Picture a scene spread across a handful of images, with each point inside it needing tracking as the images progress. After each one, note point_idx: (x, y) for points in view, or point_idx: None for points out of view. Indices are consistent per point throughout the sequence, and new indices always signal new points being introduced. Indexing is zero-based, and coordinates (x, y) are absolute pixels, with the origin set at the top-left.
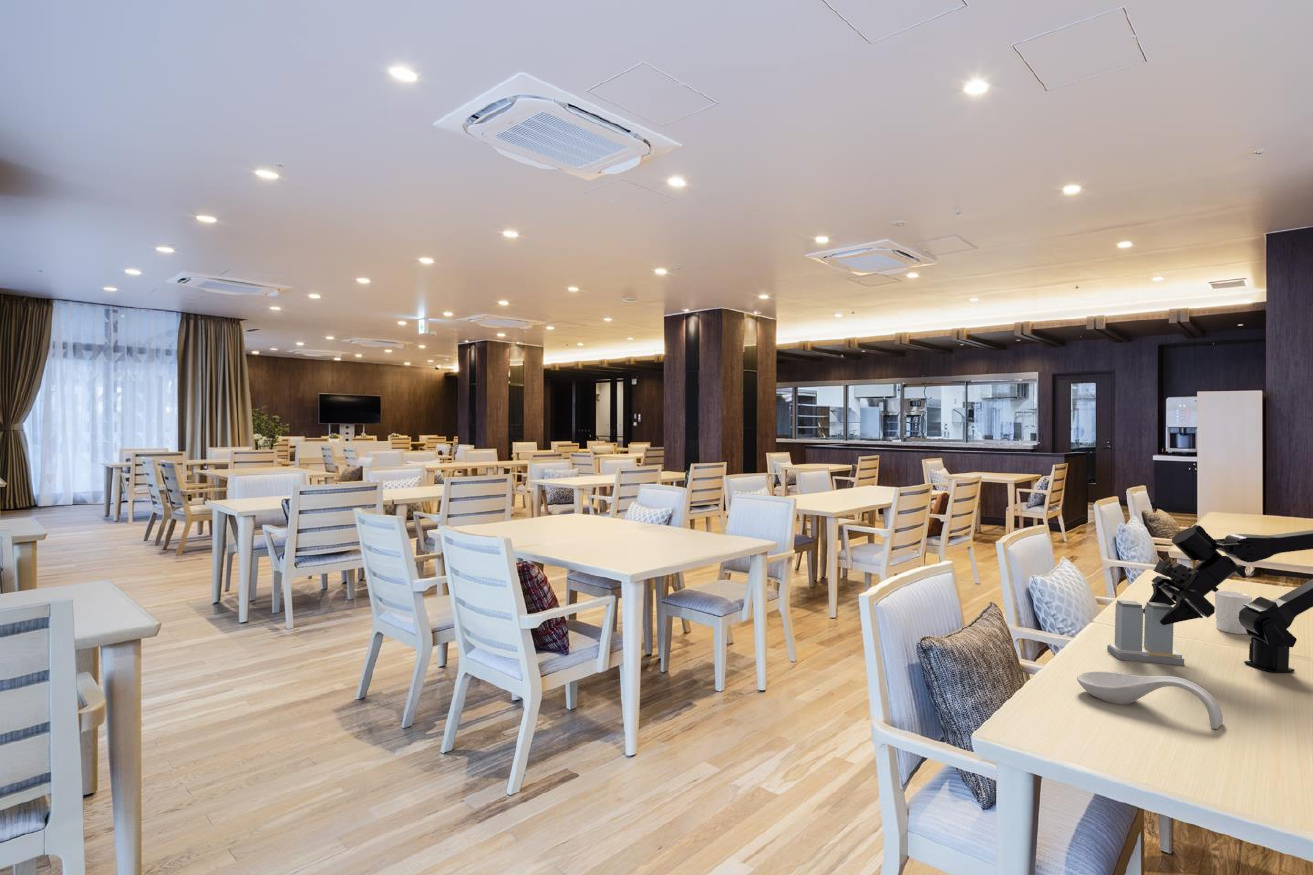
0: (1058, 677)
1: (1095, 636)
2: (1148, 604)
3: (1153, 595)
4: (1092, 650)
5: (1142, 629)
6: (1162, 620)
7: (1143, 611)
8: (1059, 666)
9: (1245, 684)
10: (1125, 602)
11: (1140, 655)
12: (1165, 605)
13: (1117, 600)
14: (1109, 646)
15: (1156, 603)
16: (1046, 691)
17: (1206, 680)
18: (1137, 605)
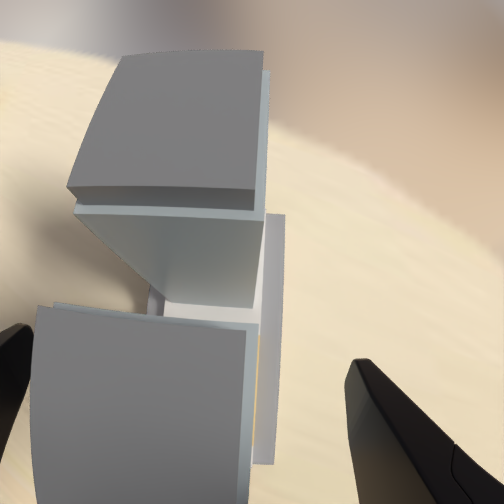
0: (52, 67)
1: (459, 260)
2: (174, 326)
3: (482, 499)
4: (268, 174)
5: (139, 273)
6: (5, 332)
7: (354, 362)
8: (106, 70)
9: (14, 488)
10: (167, 76)
11: (150, 285)
12: (87, 487)
13: (250, 51)
14: None
15: (178, 440)
16: (13, 58)
17: None
18: (85, 152)
